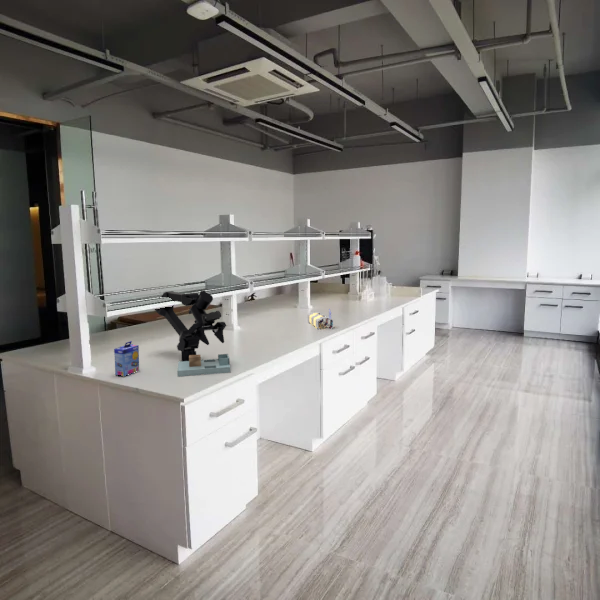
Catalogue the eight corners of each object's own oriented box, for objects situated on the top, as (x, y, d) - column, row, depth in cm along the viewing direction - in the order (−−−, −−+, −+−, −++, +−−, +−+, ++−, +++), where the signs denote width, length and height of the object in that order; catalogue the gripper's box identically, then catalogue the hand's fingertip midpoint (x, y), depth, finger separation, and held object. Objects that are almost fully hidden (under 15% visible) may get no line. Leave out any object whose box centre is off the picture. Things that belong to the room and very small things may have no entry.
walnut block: (189, 366, 200) (189, 358, 199) (189, 363, 204) (189, 355, 204) (201, 365, 201) (200, 357, 200) (200, 363, 206) (200, 354, 205)
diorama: (333, 329, 290) (333, 309, 289) (317, 330, 288) (317, 310, 286) (321, 322, 314) (321, 303, 312) (307, 323, 312) (307, 304, 310)
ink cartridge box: (124, 377, 194) (122, 344, 192) (114, 376, 196) (112, 343, 194) (140, 371, 203) (138, 339, 201) (130, 369, 205) (128, 338, 203)
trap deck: (177, 376, 194) (177, 364, 193) (178, 366, 208) (178, 355, 208) (230, 372, 199) (230, 360, 198) (227, 363, 214) (227, 352, 213)
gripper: (194, 305, 195) (210, 334, 189) (225, 304, 210) (240, 331, 205) (181, 320, 200) (196, 349, 194) (211, 319, 215) (227, 345, 210)
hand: (216, 343), depth 200 cm, fingers open, 9 cm apart
